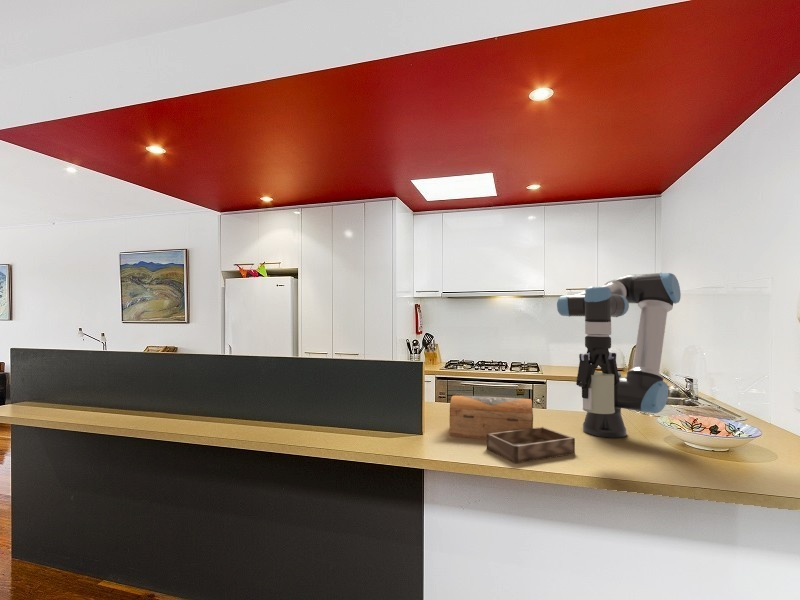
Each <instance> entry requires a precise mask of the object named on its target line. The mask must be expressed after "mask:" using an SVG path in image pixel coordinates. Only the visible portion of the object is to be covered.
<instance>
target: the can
mask: <svg viewBox="0 0 800 600" xmlns="http://www.w3.org/2000/svg"><path fill="white" fill-rule="evenodd" d="M591 380H592V381H591V384H590V387H589V388H592V410H589V409H585V408H583V407H582V410H583V411H585V412H586V413H587V412H590V413H597V414H613V413H615V410H614V374H606V373H602V371H595V372H594V375H591Z"/></svg>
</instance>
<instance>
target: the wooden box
mask: <svg viewBox="0 0 800 600" xmlns="http://www.w3.org/2000/svg"><path fill="white" fill-rule="evenodd" d="M529 428H534V411H533V400H532V399H531V398H521V397H520V398H519V397H502V396H501V397H500V396H484V395H483V396H482V395H481V396H480V395H452V396H451V398H450V402H449V436H450V437H456V438H457V437H458V438H473V439H485V440H487V434H490V433H498V432H506V431H514V430H521V429H529Z"/></svg>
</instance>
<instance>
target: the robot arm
mask: <svg viewBox="0 0 800 600" xmlns="http://www.w3.org/2000/svg"><path fill="white" fill-rule="evenodd" d="M681 294H682V293H681V287H680V283H679V281H678V278H677V276H676V275H675V274H673V273H671V272H659V273H658V272H657V273H642V274H628V275H625V276H622V277H618V278H615V279H612V280H608V281H607V282H606V283H604V285H601V286H588V287H586V288H585V290H584V291H583V292H580V293H576V294H573V295H572V294H571V295H569V294H567V295H561V296H559V297H558V299H557V302H556V309H557V312H558V314H559V315H560V316H563V317H584V322H585V323H584V329H585V330H584V334H585V335H586V336H585V337H584V346H585V348H586V349H587V351H586V352H585V353H579V355H578V356H579V364H578V369H577V376H576V382H575V385H576V386H578V387H581V398H582V409H583V408H585V409H589V410H592V388H589V387H590V384H591V381H592V380H591V375H594V372H596V369H598V367H600V370H601V372H602V373H606V374H614V410H615V413H613V414H597V413H590V412H587V411H586V415H585V418H584V421H583V424H582V431H583V432H584V433H587V434H588V435H591V436H596V437H599V438H600V437H602V438H610V439H611V438H613V439H616V438H617V439H618V438H625V437H626V436H627V428H626V425H625V423H624V418H623V416H622V409H624V410H631V411H636V412H642V413H644V414H645V413H647V414H648V413H649V414H658V413H661V412H662V411H663V410H664V408H665V407H666V404H667V403H668V398H669V385H668V383H667V382H665V381H664V377H663V376H662V374H661V373H660V370H661V362H662V355H663V347H664V339H665V332H666V324H667V317H668V313H669V312H670V311H672V310H673V306H674V304H678V303H680V300H681ZM630 304H637V306H638V308H639V309H640V316H639V322H638V323H639V324H638V329H637V337H636V341H635V342H636V344H635V349H634V357H633V361H632V362H633V365H632V368H631V369H629V370H627V373H626V376H622V373H621V372H619V371H618V370H619V369H618V364H617V353H616V352H610V351H609V349H611V348H612V337H611V335H612V318H619V317H623V316H624V315H625V314H627V313H628V311H629V308H630Z"/></svg>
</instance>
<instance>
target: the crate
mask: <svg viewBox="0 0 800 600" xmlns="http://www.w3.org/2000/svg"><path fill="white" fill-rule="evenodd" d="M575 441H576V438H575V437H572V436H569V435H567V434H563V433H561V432H558V431H556V430H554V429H549V428H547V427H544V426H538V427H533V428H529V429H521V430H514V431H506V432H498V433H490V434H487V439H486V450H488V451H490V452H493V453H494V454H496V455H498V456H500V457H503V459H507V460H508V461H510V462H512V463H514V464H520V463H528V462H532V461H538V460H543V459H550V457H551V458H556V456H557V457H563V456H562V455H564V456H569V454H570V455H575V453H576V446H575V445H576V444H575V443H576V442H575Z"/></svg>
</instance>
